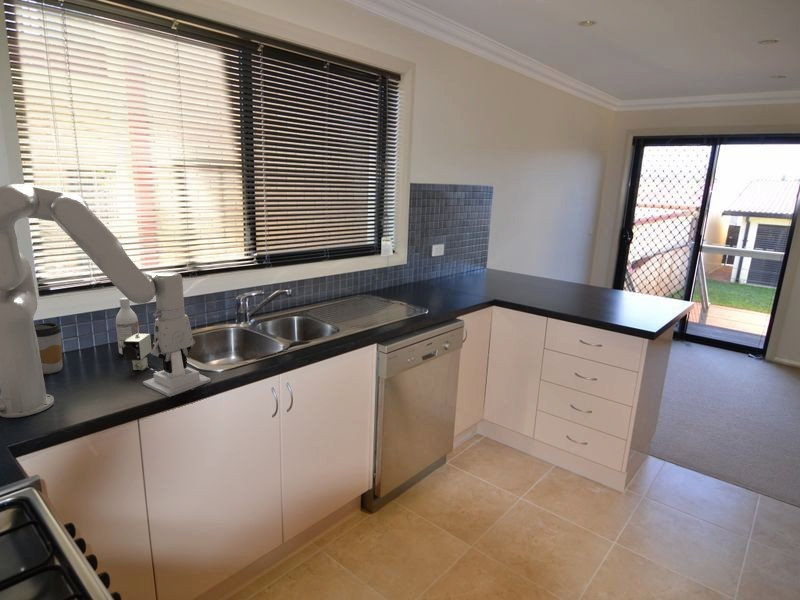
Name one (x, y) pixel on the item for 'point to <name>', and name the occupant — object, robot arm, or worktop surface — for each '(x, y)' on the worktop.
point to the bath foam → (125, 323)
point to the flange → (176, 382)
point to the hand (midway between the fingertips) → (175, 369)
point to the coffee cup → (49, 346)
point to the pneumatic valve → (138, 349)
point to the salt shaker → (176, 365)
